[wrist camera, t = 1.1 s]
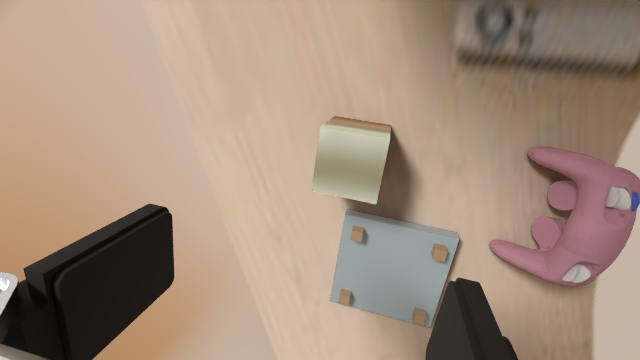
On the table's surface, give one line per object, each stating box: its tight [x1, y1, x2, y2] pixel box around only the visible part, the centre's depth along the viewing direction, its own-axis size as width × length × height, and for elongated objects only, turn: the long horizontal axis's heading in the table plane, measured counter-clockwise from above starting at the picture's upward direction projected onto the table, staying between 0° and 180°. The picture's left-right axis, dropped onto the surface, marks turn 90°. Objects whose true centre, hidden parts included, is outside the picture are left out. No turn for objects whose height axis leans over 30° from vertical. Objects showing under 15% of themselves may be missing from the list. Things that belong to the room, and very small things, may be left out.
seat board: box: [330, 209, 459, 328], centre depth 29 cm, size 10×10×2 cm
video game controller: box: [489, 147, 640, 286], centre depth 23 cm, size 10×5×7 cm, turn 171°
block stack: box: [312, 116, 391, 204], centre depth 24 cm, size 5×5×6 cm
